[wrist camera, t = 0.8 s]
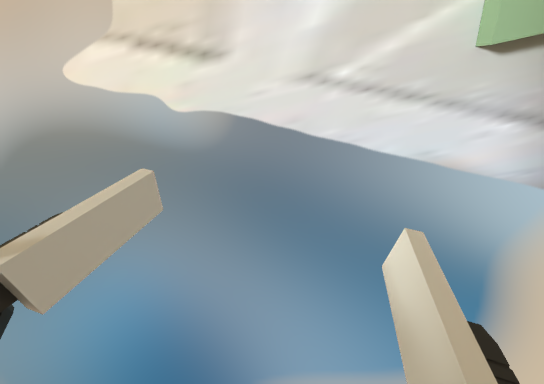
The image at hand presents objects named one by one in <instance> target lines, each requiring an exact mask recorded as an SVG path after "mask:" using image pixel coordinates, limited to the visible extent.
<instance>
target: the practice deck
mask: <svg viewBox="0 0 544 384" xmlns="http://www.w3.org/2000/svg"><path fill="white" fill-rule="evenodd" d="M543 33H544V0H485V3H484V8H483V13H482V18H481V23H480V28H479V32H478V37H477V42H476V46H485V45H493V44H497V43H502V42H506V41H511V40H516V39H520V38H525V37H529V36H534V35H538V34H543Z"/></svg>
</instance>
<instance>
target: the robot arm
mask: <svg viewBox="0 0 544 384" xmlns="http://www.w3.org/2000/svg"><path fill="white" fill-rule="evenodd" d="M162 210H163V207H162V203H161V198H160V195H159V190H158V186H157V183H156V178H155V174H154V171H151V170H147V169H140V170H138V171H136V172H134V173H133V174H131V175H129V176H127V177H126V178H124V179H122V180H120V181H118V182H117V183H115V184H113V185H111V186H110V187H108V188H106V189H104V190H103V191H101V192H99V193H97V194H95V195H94V196H92V197H90V198H88V199H87V200H85V201H83V202H81V203H80V204H78V205H76V206H74V207H72V208H71V209H69V210H67V211H65V212H62V213H60V214H57V215H54V216H52V217H50V218H49V219H47V220H45V221H43V222H41V223H40V224H39V225H38V226H37V225H36V226H35V227H33V228H31V229H29V230H28V231H27V232H23V233H22V234H20V235H18V236H16V237H14V238H13V239H11V240H9V241H7V242H5V243H4V244H2V245H0V339H1V336H2V335H3V333H4V330H5V328H6V326H7V324H8V322H9V320H10V318H11V316H12V314H13V310H14V307H13V305H12V304H13V303H14V302H15V301H17V300H19V301H20V302H21V303H22V304H23V305H24V306H25V307H26V308H28V309H30V310H33V311H35V312H38V313H40V314H44V313H45V312H46V311H48V310H49V309H50V308H51V307H52V306H53V305H54V304H56V303H57V302H58V301H59V300H60V299H61V298H62V297H64V296H65V295H66V294H67V293H68V292H69V291H71V290H72V289H73V288H74V287H75V286H76V285H77V284H78V283H80V282H81V281H82V280H83V279H84V278H86V277H87V276H88V275H89V274H90V273H91V272H92V271H94V270H95V269H96V268H97V267H98V266H99V265H100V264H102V263H103V262H104V261H105V260H106V259H107V258H108V257H110V256H111V255H112V254H113V253H114V252H115V251H117V250H118V249H119V248H120V247H121V246H122V245H123V244H125V243H126V242H127V241H128V240H129V239H130V238H131V237H132V236H134V235H135V234H136V233H137V232H138V231H139V230H141V229H142V228H143V227H144V226H145V225H146V224H148V223H149V222H150V221H151V220H152V219H153V218H154V217H155V216H157V215H158V214H159V213H160V212H161V211H162ZM382 269H383V274H384V278H385V283H386V287H387V292H388V296H389V302H390V306H391V311H392V316H393V320H394V325H395V329H396V334H397V338H398V343H399V348H400V353H401V357H402V362H403V366H404V371H405V376H406V380H407V384H519V381H518V380H517V378H516V376H515V374H514V372H513V371H512V370H511V369H510V368H509V364H508V362H507V360H506V358H505V357H504V355H503V353H502V351H501V349H500V348H499V346H498V344H497V343H496V342H495V341H494V340H493V338H492V337H491V336H490V335H489V334H488V333H487V331H486V330H485V329H484V328H483V327H482V326H481V325H479V324H475V323H472V322H469V321H466V319H465V316H464V314H463V312H462V310H461V308H460V306H459V304H458V302H457V300H456V298H455V296H454V294H453V292H452V290H451V288H450V286H449V284H448V282H447V280H446V278H445V276H444V274H443V272H442V270H441V268H440V266H439V264H438V262H437V260H436V258H435V256H434V254H433V252H432V249H431V247H430V245H429V243H428V241H427V239H426V237H425V235H424V233H423V232H420V231H416V230H411V229H407V228H405V229H404V230H403V232H402V234H401V235H400V237H399V239H398V240H397V242H396V244H395V245H394V247H393V249H392V250H391V252H390V254H389V255H388V257H387V259H386V260H385V262H384V264H383V266H382Z"/></svg>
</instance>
